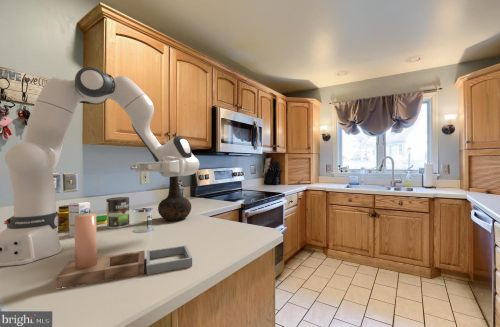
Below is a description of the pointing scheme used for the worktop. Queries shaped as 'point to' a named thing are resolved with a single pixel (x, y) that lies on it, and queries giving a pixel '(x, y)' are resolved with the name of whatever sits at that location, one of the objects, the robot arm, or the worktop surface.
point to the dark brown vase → (174, 203)
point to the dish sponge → (101, 219)
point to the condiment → (63, 219)
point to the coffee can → (117, 212)
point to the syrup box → (77, 213)
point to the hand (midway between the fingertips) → (138, 167)
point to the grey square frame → (168, 264)
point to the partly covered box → (103, 269)
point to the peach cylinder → (85, 241)
